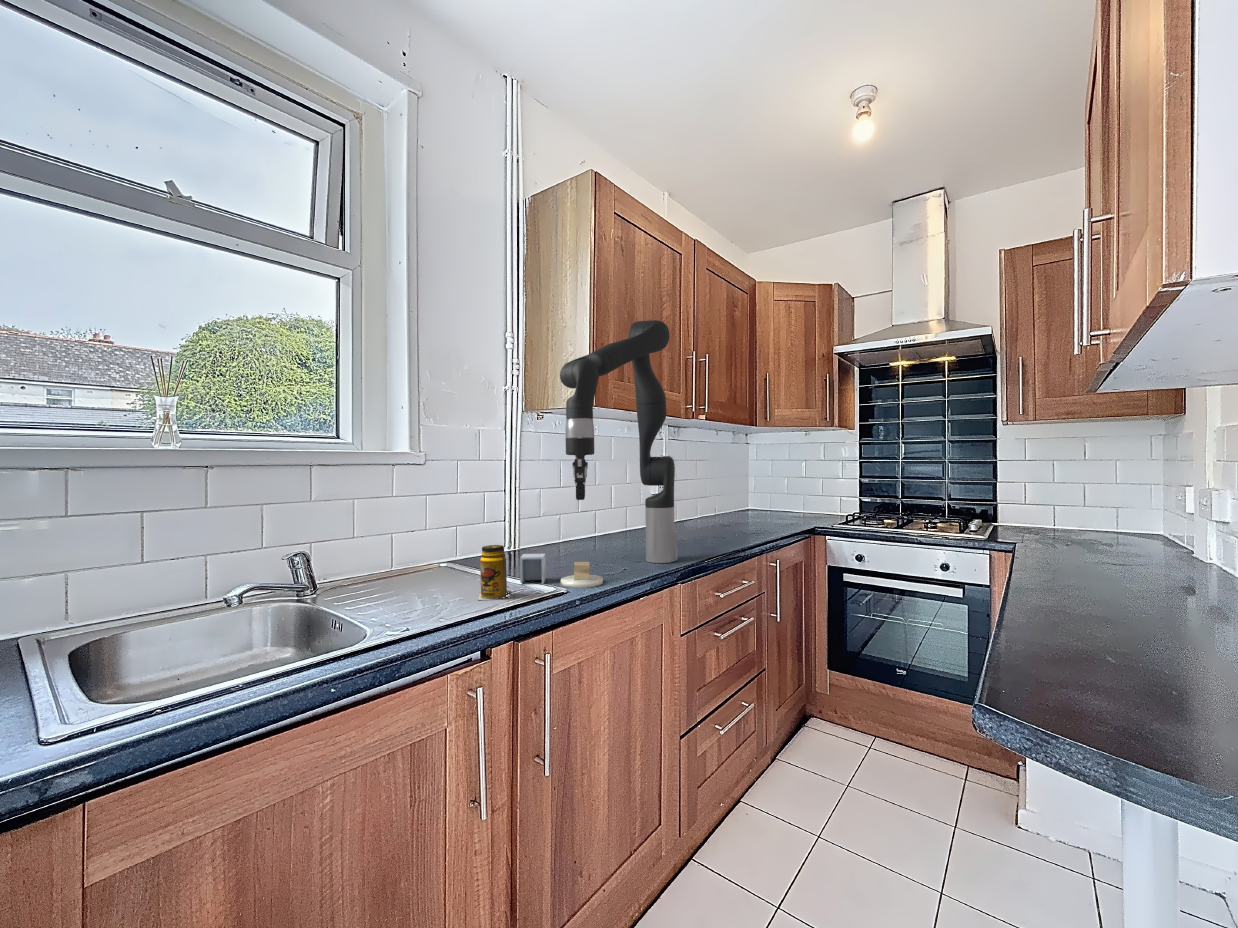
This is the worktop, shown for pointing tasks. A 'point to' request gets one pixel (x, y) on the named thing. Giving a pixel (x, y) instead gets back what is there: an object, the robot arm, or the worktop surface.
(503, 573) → the condiment
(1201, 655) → the worktop surface
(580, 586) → the dish
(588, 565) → the block
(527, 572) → the cover
